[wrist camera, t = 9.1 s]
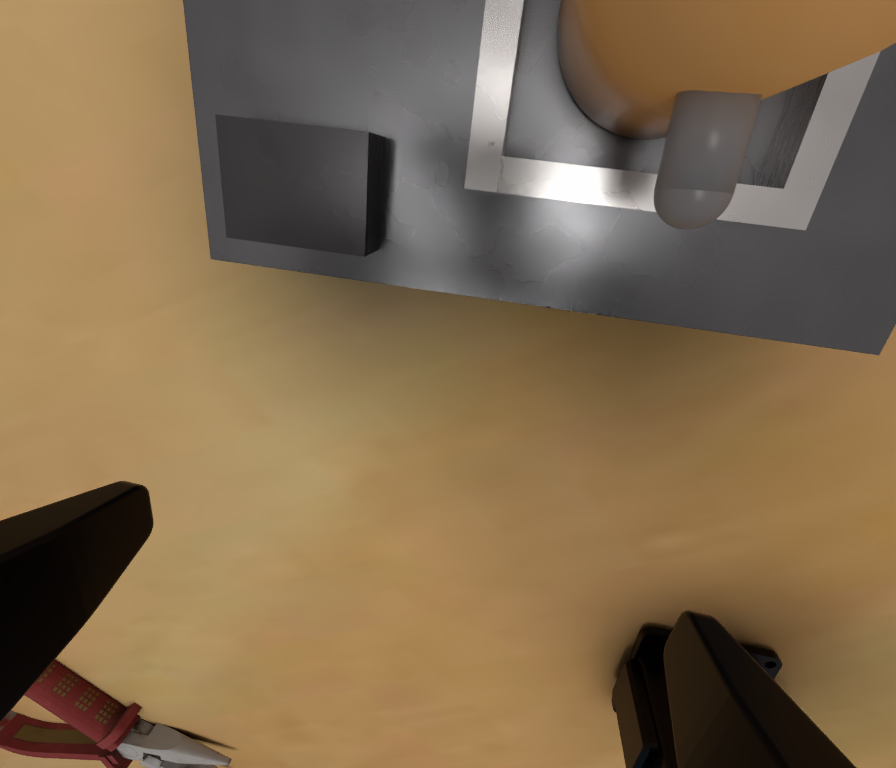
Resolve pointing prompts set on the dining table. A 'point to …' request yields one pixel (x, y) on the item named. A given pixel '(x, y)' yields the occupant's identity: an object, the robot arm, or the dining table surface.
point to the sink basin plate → (530, 173)
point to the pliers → (97, 729)
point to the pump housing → (705, 77)
